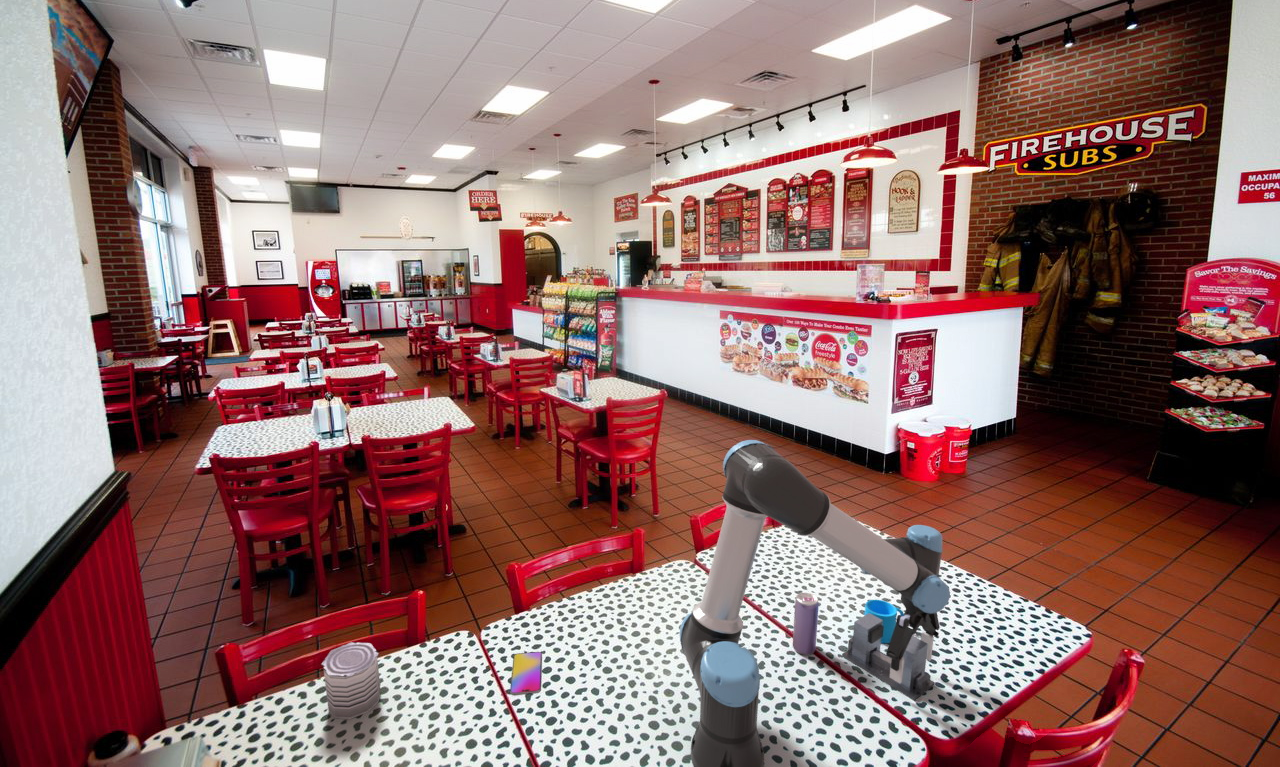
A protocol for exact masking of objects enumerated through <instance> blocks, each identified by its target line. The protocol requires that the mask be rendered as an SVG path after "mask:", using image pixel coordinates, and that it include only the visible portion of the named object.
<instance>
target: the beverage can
mask: <svg viewBox="0 0 1280 767" xmlns="http://www.w3.org/2000/svg"><path fill="white" fill-rule="evenodd" d="M819 606H820V604H819V598H818V597H817V596H816V595H815V594H812V593H809V592H800V593H798V594H797V595H796V598H795V601H794V614H793V615H794V616H793V617H794V618H793V632H792V633H793V634H792V648H793V649H794V651H795V652H796V653H798V654H799V655H802V656H803V655H804V656H809V655H812V654H814V652H815V651H816V649H817V647H816V646H817V633H818V619H819V618H818V617H819V609H820V608H819Z"/></svg>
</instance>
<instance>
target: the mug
mask: <svg viewBox="0 0 1280 767" xmlns="http://www.w3.org/2000/svg"><path fill="white" fill-rule="evenodd" d="M868 613H870V614H872V615H874V616H876V617H878V618H880V619H882V620H883V625H882V626H884V629H883V637H882V638H881V644H889V643H890V640H891V637H892V634H893V631H894V629H895V626H896V621H897V616H898V613H899V615H901V616H904V613H905V612H903V610H902V609H901V608H899V607H895V605H894V604H892V603H890V602H888V601H886V600H881V599H870V600H867V601H866V602H865V605H864V616H865V615H867V614H868Z"/></svg>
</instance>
